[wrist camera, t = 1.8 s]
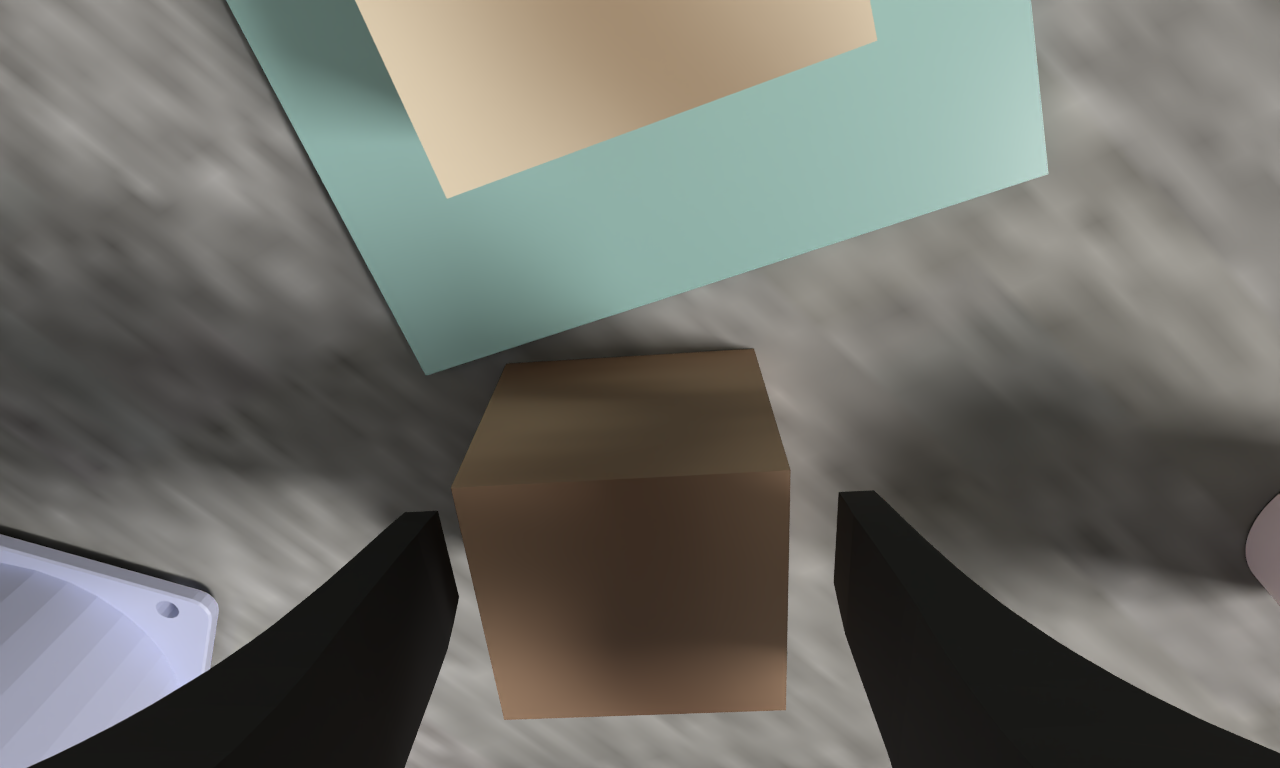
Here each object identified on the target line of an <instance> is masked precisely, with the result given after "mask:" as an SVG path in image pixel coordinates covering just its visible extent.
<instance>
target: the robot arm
mask: <svg viewBox="0 0 1280 768" xmlns="http://www.w3.org/2000/svg"><path fill="white" fill-rule="evenodd" d="M834 586H835V590H836V595H837V600H838V604H839V609H840V613H841V618H842V622H843V626H844V631H845V635H846V638H847V641H848V643H849V646H850V649H851V652H852V655H853V658H854V660H855V663H856V666H857V669H858V672H859V675H860V677H861V680H862V683H863V686H864V688H865V691H866V694H867V697H868V700H869V702H870V705H871V708H872V711H873V713H874V716H875V719H876V722H877V724H878V727H879V730H880V733H881V735H882V738H883V741H884V744H885V747H886V749H887V752H888V755H889V758H890V762H891V765H892V768H1280V753H1278V752H1276V751H1273V750H1271V749H1269V748H1266V747H1264V746H1262V745H1259V744H1257V743H1255V742H1252V741H1250V740H1247V739H1245V738H1243V737H1240V736H1238V735H1236V734H1233V733H1231V732H1229V731H1226V730H1224V729H1222V728H1219V727H1217V726H1215V725H1212V724H1210V723H1208V722H1206V721H1204V720H1201V719H1199V718H1197V717H1195V716H1193V715H1191V714H1189V713H1187V712H1185V711H1183V710H1181V709H1179V708H1177V707H1175V706H1173V705H1171V704H1169V703H1167V702H1165V701H1162V700H1160V699H1158V698H1156V697H1154V696H1152V695H1150V694H1148V693H1146V692H1145V691H1143V690H1141V689H1139V688H1137V687H1135V686H1133V685H1131V684H1130V683H1128V682H1126V681H1124V680H1122V679H1120V678H1118V677H1116V676H1115V675H1113V674H1111V673H1110V672H1108V671H1106V670H1104V669H1103V668H1101V667H1099V666H1097V665H1096V664H1094V663H1092V662H1091V661H1089V660H1087V659H1085V658H1084V657H1082V656H1080V655H1078V654H1077V653H1075V652H1073V651H1072V650H1070V649H1069V648H1067V647H1065V646H1064V645H1062V644H1060V643H1059V642H1057V641H1056V640H1054V639H1053V638H1051V637H1050V636H1048V635H1047V634H1045V633H1044V632H1042V631H1041V630H1039V629H1038V628H1036V627H1035V626H1033V625H1032V624H1030V623H1029V622H1027V621H1026V620H1024V619H1023V618H1021V617H1020V616H1018V615H1017V614H1016V613H1014V612H1013V611H1011V610H1010V609H1009V608H1007V607H1006V606H1005V605H1003V604H1002V603H1000V602H999V601H998V600H997V599H995V598H994V597H993V596H991V595H990V594H989V593H988V592H986V591H985V590H984V589H983V588H981V587H980V586H979V585H977V584H976V583H975V582H974V581H972V580H971V579H970V578H969V577H967V576H966V575H965V574H964V573H963V572H961V571H960V570H959V569H958V568H957V567H956V566H954V565H953V564H952V563H951V562H950V561H949V560H948V559H946V558H945V557H944V556H943V555H942V554H941V553H940V552H939V551H937V550H936V549H935V548H934V547H933V546H932V545H931V544H930V543H929V542H928V541H926V540H925V539H924V538H923V537H922V536H921V535H920V534H919V533H918V532H917V531H916V530H915V529H914V528H913V527H912V526H911V525H909V524H908V523H907V522H906V521H905V520H904V519H903V518H902V517H901V516H900V515H899V514H898V513H897V512H896V511H895V510H894V509H893V508H892V507H891V506H890V505H889V504H888V503H887V502H886V501H885V500H884V499H883V498H881V497H880V496H879V495H878V494H877V493H876V492H875V491H853V492H839V497H838V515H837V533H836V551H835V569H834ZM458 599H459V595H458V591H457V587H456V583H455V579H454V575H453V571H452V567H451V563H450V559H449V555H448V551H447V546H446V542H445V538H444V534H443V530H442V526H441V522H440V518H439V514H438V511H424V512H405V513H404V514H403V515H401V516H400V517H399V518H398V519H396V520H395V521H394V522H393V523H392V524H391V525H389V526H388V527H387V528H386V529H385V530H384V531H383V532H382V533H380V534H379V535H378V536H377V537H376V538H375V539H374V540H373V541H372V542H370V543H369V544H368V545H367V546H366V547H365V548H364V549H363V550H362V551H361V552H359V553H358V554H357V555H356V556H355V557H354V558H353V559H352V560H350V561H349V562H348V563H347V564H346V565H345V566H344V567H342V568H341V569H340V570H339V571H338V572H337V573H336V574H334V575H333V576H332V577H331V578H330V579H329V580H328V581H327V582H325V583H324V584H323V585H322V586H321V587H319V588H318V589H317V590H316V591H314V592H313V593H312V594H311V595H310V596H308V597H307V598H306V599H305V600H303V601H302V602H301V603H300V604H298V605H297V606H296V607H295V608H294V609H292V610H291V611H290V612H289V613H287V614H286V615H285V616H284V617H282V618H281V619H280V620H279V621H277V622H276V623H275V624H274V625H272V626H271V627H270V628H268V629H267V630H266V631H264V632H263V633H262V634H260V635H259V636H257V637H256V638H255V639H253V640H252V641H251V642H249V643H248V644H246V645H245V646H243V647H242V648H240V649H239V650H238V651H236V652H235V653H233V654H232V655H230V656H229V657H227V658H226V659H224V660H223V661H222V662H220V663H219V664H217V665H215V666H214V667H212V668H211V669H210V666H211V660H212V653H213V646H214V640H215V633H216V626H217V620H218V613H219V608H218V604H217V602H216V601H215V599H214V598H213V597H212V596H211V595H210V594H208V593H206V592H204V591H202V590H198V589H195V588H191V587H188V586H184V585H181V584H177V583H173V582H170V581H166V580H163V579H159V578H156V577H152V576H148V575H145V574H141V573H138V572H134V571H131V570H127V569H123V568H120V567H116V566H113V565H109V564H106V563H102V562H98V561H95V560H91V559H88V558H84V557H81V556H77V555H73V554H70V553H66V552H63V551H59V550H56V549H52V548H48V547H45V546H41V545H38V544H34V543H31V542H27V541H23V540H20V539H16V538H13V537H9V536H6V535H2V534H0V768H404V767H405V764H406V762H407V759H408V756H409V754H410V751H411V748H412V745H413V743H414V740H415V737H416V735H417V732H418V729H419V726H420V724H421V721H422V718H423V716H424V713H425V710H426V708H427V705H428V702H429V699H430V697H431V694H432V691H433V689H434V686H435V683H436V680H437V677H438V675H439V672H440V669H441V666H442V663H443V661H444V658H445V655H446V652H447V649H448V645H449V641H450V637H451V632H452V628H453V624H454V619H455V614H456V609H457V604H458Z"/></svg>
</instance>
